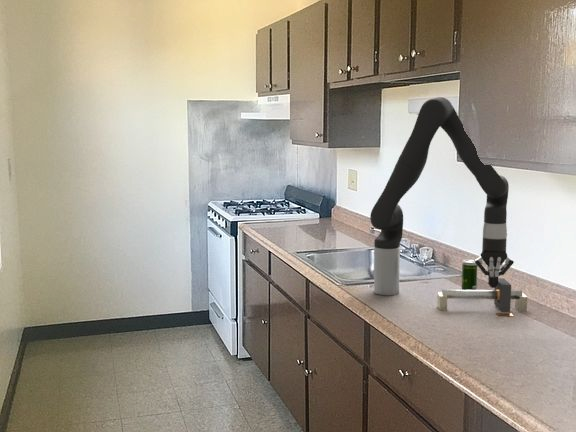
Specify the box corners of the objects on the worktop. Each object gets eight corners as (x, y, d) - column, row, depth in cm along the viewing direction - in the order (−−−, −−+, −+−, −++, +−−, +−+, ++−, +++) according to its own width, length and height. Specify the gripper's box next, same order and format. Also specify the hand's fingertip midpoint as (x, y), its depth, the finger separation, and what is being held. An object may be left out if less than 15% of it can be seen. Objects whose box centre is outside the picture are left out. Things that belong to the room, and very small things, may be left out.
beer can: (479, 292, 237) (480, 261, 236) (472, 296, 234) (473, 263, 232) (465, 290, 241) (466, 258, 239) (458, 293, 237) (459, 261, 235)
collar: (500, 311, 213) (501, 285, 211) (494, 303, 222) (495, 278, 220) (510, 311, 212) (511, 285, 211) (503, 303, 221) (504, 278, 220)
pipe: (442, 316, 210) (443, 295, 209) (437, 306, 221) (437, 287, 220) (532, 317, 208) (532, 296, 207) (522, 307, 219) (523, 287, 218)
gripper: (512, 234, 217) (510, 284, 219) (471, 234, 218) (470, 284, 220) (518, 238, 209) (516, 290, 212) (476, 238, 210) (475, 290, 213)
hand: (492, 287), depth 216 cm, fingers closed
